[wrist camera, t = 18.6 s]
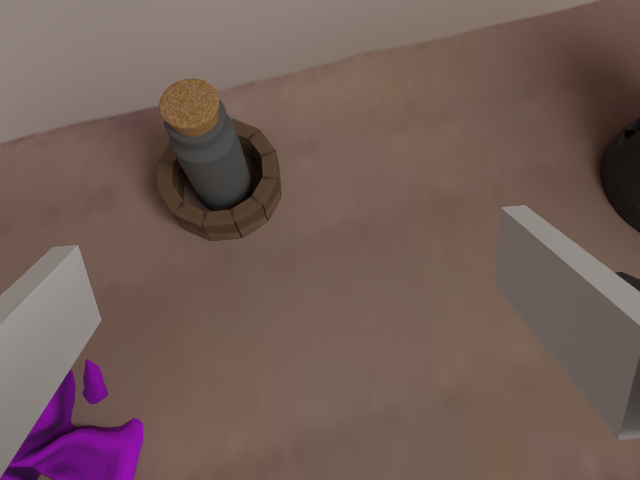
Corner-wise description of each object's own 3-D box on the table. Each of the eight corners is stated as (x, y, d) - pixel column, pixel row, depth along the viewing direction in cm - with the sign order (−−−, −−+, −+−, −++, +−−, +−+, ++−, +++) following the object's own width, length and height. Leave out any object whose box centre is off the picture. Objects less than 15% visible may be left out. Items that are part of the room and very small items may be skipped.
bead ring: (277, 136, 54) (273, 114, 50) (284, 234, 49) (280, 219, 46) (170, 145, 53) (159, 124, 50) (168, 244, 49) (155, 230, 45)
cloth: (176, 497, 41) (152, 510, 36) (-38, 618, 38) (-101, 653, 33) (94, 280, 48) (63, 261, 43) (-91, 368, 46) (-151, 360, 40)
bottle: (263, 184, 52) (241, 96, 37) (228, 223, 50) (190, 147, 36) (223, 155, 53) (187, 60, 39) (187, 193, 51) (135, 108, 37)
